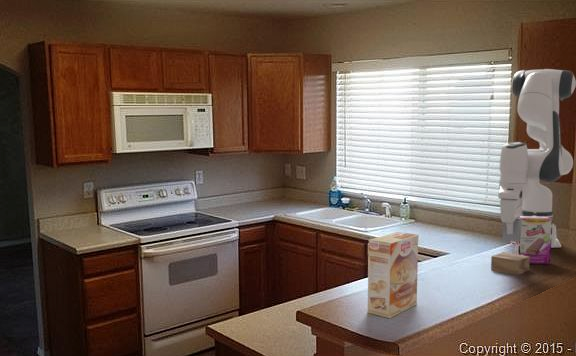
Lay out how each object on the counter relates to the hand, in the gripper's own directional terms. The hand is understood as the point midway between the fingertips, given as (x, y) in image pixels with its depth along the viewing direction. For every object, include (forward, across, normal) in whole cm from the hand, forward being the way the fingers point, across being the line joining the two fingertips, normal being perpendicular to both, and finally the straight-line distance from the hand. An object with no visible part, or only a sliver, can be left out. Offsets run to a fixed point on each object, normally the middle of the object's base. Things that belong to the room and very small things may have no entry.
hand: (511, 232), depth 188 cm
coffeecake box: (+14, +58, -20) cm, 63 cm away
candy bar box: (+13, -15, +5) cm, 21 cm away
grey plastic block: (+3, 0, 0) cm, 3 cm away
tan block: (+13, 0, 0) cm, 13 cm away
